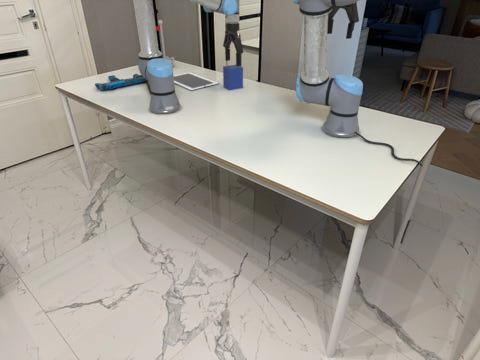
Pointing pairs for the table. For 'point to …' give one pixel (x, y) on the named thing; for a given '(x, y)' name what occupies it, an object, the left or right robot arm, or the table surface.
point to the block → (233, 77)
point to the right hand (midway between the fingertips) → (338, 36)
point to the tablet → (192, 81)
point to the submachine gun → (120, 82)
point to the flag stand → (159, 28)
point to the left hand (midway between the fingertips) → (233, 63)
